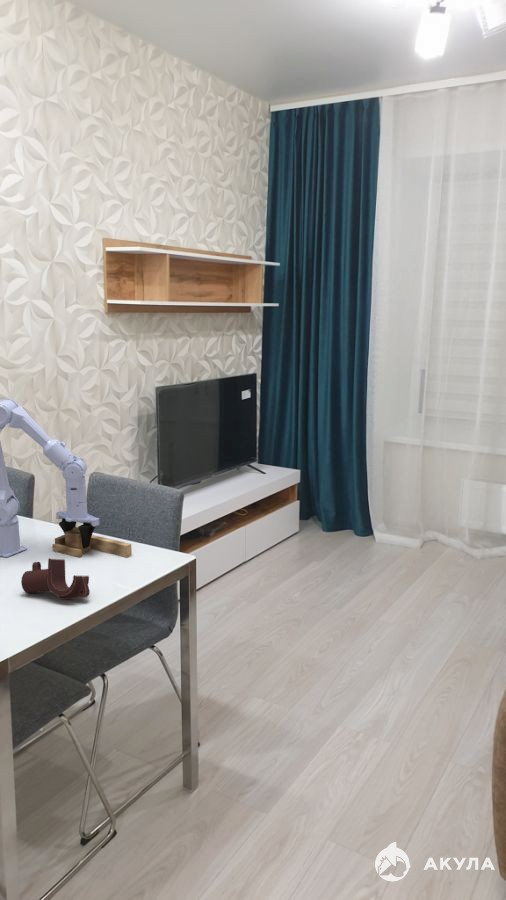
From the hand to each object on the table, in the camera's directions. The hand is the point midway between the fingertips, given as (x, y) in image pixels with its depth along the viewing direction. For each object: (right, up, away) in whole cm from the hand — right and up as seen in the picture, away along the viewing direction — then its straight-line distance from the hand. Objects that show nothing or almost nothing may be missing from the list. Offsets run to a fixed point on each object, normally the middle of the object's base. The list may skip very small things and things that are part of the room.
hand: (78, 545), depth 209 cm
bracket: (+2, -9, -30) cm, 31 cm away
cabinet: (0, -2, 0) cm, 2 cm away
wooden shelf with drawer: (+4, -2, -1) cm, 5 cm away
